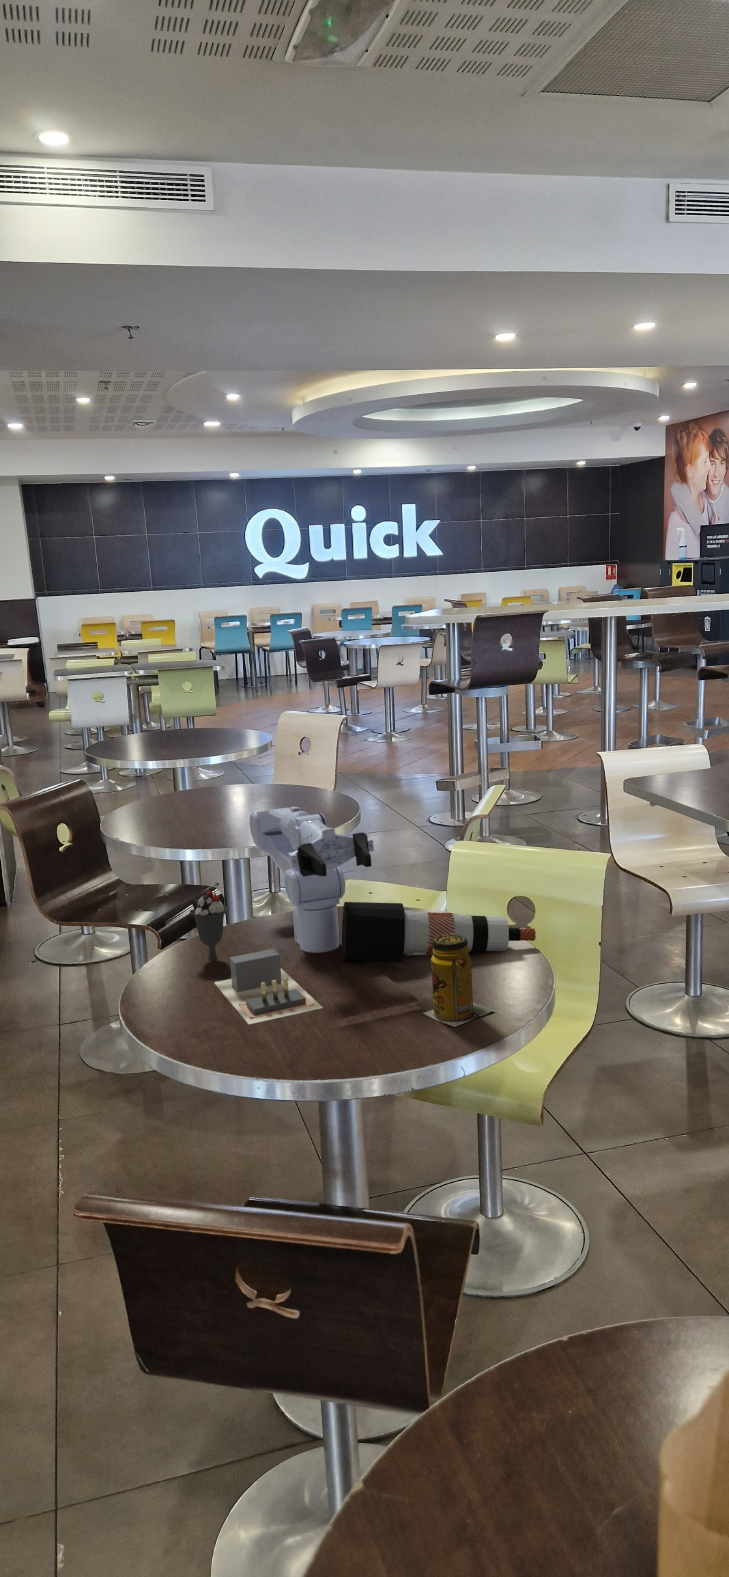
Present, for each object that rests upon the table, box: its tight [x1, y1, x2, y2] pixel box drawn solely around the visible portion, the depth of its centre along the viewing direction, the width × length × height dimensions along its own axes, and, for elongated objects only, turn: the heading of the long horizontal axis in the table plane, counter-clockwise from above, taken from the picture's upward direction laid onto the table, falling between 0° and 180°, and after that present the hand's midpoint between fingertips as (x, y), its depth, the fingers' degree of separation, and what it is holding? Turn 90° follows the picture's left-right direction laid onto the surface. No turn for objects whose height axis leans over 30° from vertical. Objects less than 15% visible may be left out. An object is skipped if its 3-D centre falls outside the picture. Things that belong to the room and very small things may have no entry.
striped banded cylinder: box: [341, 901, 537, 962], centre depth 179 cm, size 10×34×10 cm, turn 92°
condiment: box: [422, 935, 495, 1028], centre depth 153 cm, size 7×8×12 cm
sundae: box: [189, 882, 228, 962], centre depth 180 cm, size 7×7×15 cm
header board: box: [213, 968, 324, 1025], centre depth 163 cm, size 20×12×5 cm, turn 24°
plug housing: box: [229, 948, 282, 992], centre depth 167 cm, size 3×8×5 cm, turn 114°
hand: (346, 865), depth 163 cm, fingers open, 7 cm apart
